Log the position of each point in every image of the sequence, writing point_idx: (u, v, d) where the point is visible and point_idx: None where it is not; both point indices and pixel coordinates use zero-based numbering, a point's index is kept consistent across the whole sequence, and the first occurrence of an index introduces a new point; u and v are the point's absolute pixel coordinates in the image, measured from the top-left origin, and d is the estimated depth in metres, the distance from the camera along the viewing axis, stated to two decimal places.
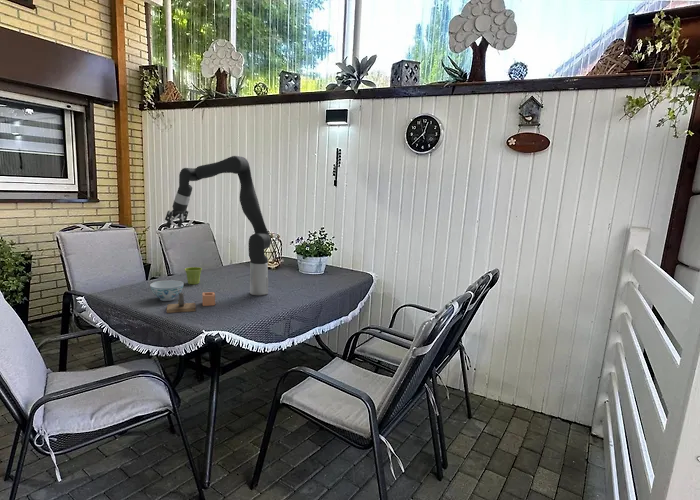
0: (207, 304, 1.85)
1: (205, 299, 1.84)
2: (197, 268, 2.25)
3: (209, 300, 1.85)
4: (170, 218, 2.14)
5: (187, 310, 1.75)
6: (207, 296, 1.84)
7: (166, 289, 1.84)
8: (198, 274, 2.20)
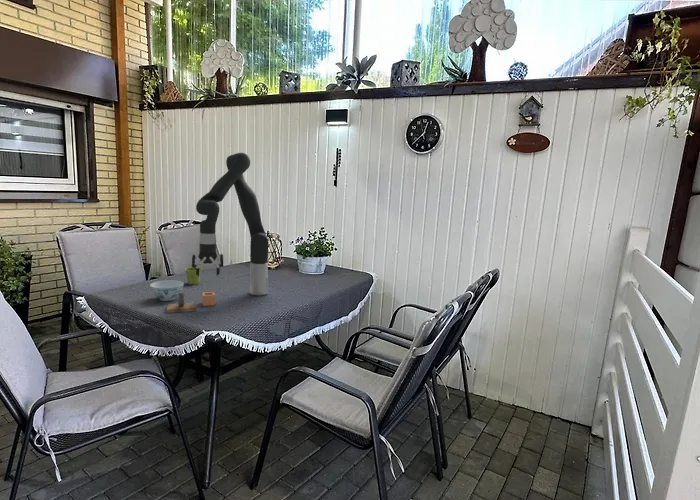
0: (207, 304, 1.85)
1: (205, 299, 1.84)
2: None
3: (209, 300, 1.85)
4: None
5: (187, 310, 1.75)
6: (207, 296, 1.84)
7: (166, 289, 1.84)
8: None
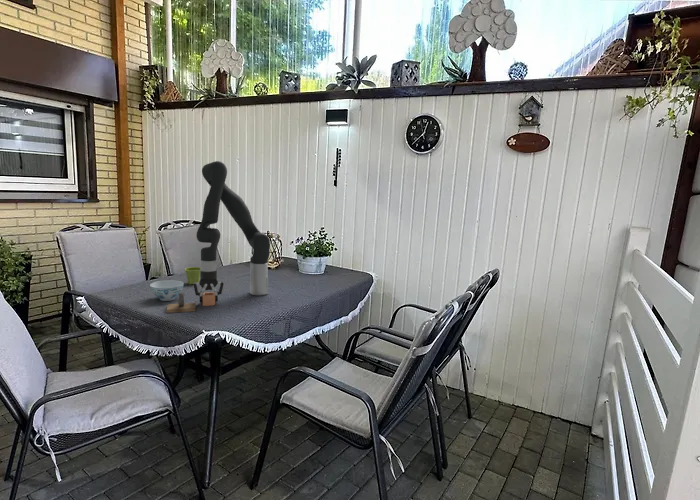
0: (207, 304, 1.85)
1: (205, 299, 1.84)
2: (197, 268, 2.25)
3: (209, 300, 1.85)
4: (219, 288, 1.89)
5: (187, 310, 1.75)
6: (207, 296, 1.84)
7: (166, 289, 1.84)
8: (198, 274, 2.20)
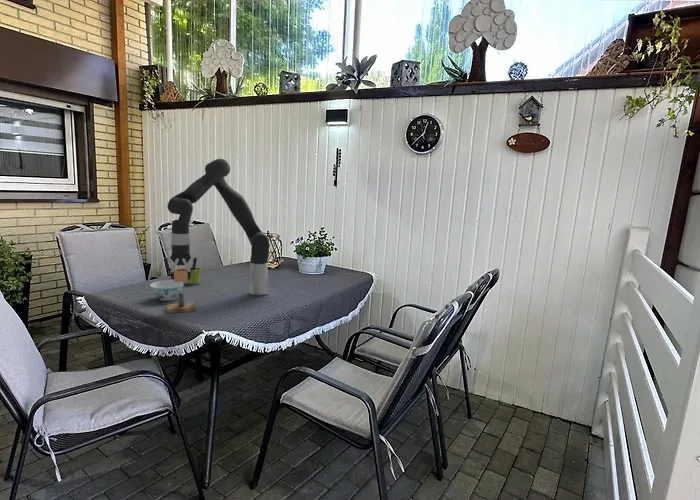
0: (179, 280, 1.73)
1: (176, 275, 1.72)
2: (197, 268, 2.25)
3: (181, 276, 1.73)
4: None
5: (187, 310, 1.75)
6: (179, 272, 1.72)
7: (166, 289, 1.84)
8: (198, 274, 2.20)
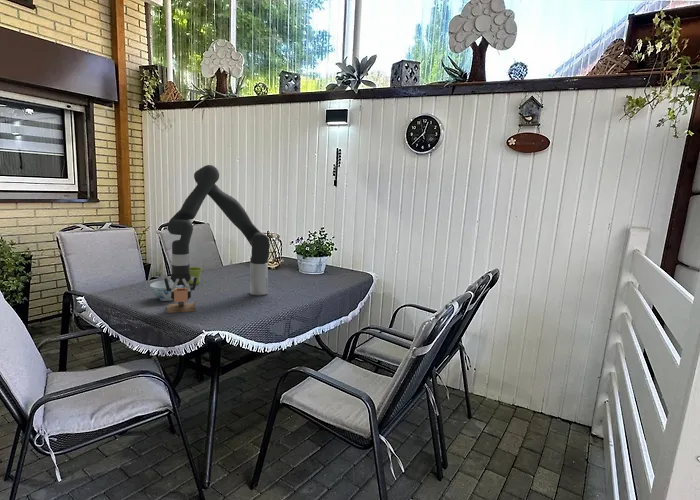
0: (179, 300, 1.74)
1: (177, 295, 1.73)
2: (197, 268, 2.25)
3: (181, 296, 1.74)
4: None
5: (187, 310, 1.75)
6: (179, 292, 1.73)
7: None
8: (198, 274, 2.20)
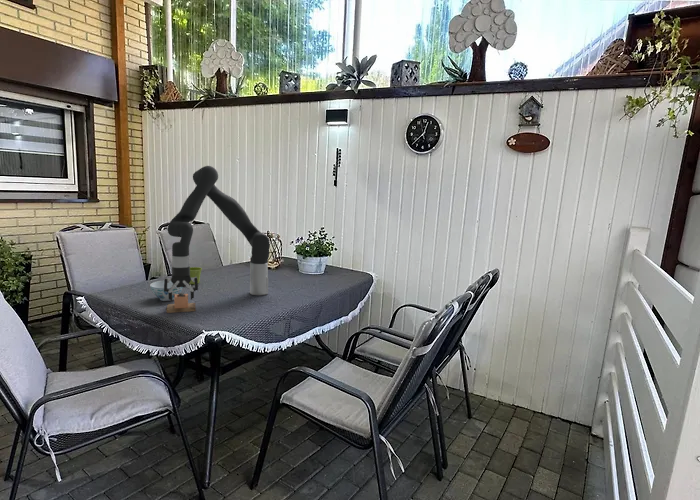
0: (179, 306, 1.74)
1: (177, 301, 1.74)
2: (197, 268, 2.25)
3: (181, 302, 1.74)
4: None
5: (187, 310, 1.75)
6: (179, 298, 1.74)
7: None
8: (198, 274, 2.20)
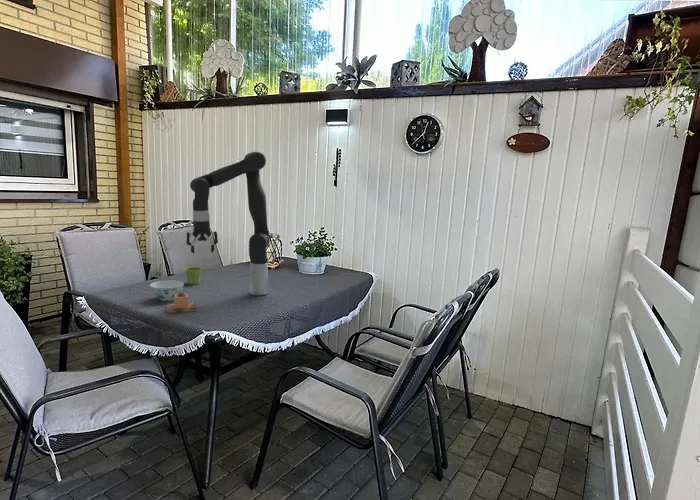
0: (179, 306, 1.74)
1: (177, 301, 1.74)
2: (197, 268, 2.25)
3: (181, 302, 1.74)
4: None
5: (187, 310, 1.75)
6: (179, 298, 1.74)
7: (166, 289, 1.84)
8: (198, 274, 2.20)
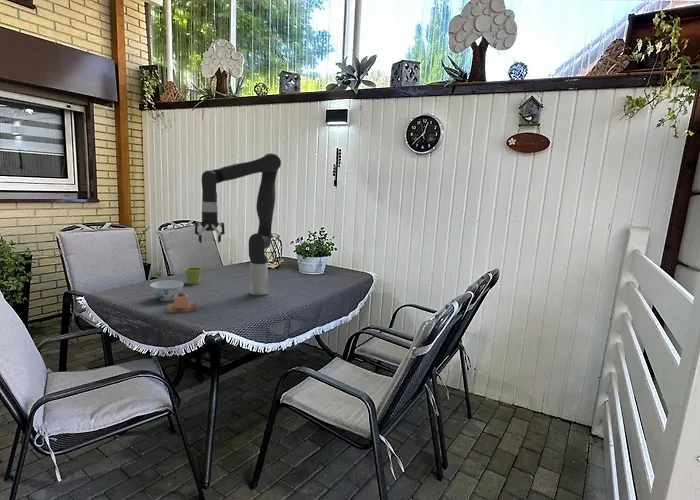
0: (179, 306, 1.74)
1: (177, 301, 1.74)
2: (197, 268, 2.25)
3: (181, 302, 1.74)
4: None
5: (187, 310, 1.75)
6: (179, 298, 1.74)
7: (166, 289, 1.84)
8: (198, 274, 2.20)
